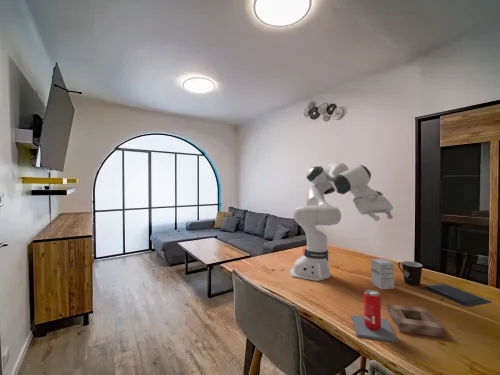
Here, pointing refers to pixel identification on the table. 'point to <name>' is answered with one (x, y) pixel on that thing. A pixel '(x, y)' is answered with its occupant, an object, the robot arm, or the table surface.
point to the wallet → (456, 295)
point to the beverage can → (372, 310)
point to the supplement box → (382, 273)
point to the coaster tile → (381, 334)
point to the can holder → (422, 326)
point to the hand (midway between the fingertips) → (384, 219)
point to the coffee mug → (411, 272)
